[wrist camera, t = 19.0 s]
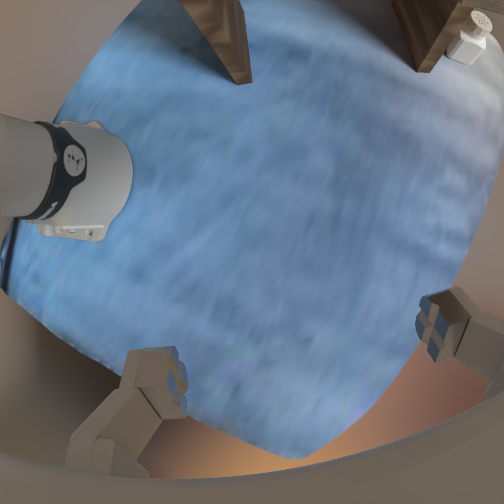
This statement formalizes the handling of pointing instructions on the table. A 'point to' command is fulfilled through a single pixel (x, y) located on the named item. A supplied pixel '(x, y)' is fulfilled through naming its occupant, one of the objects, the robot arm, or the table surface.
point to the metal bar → (485, 5)
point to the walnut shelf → (405, 3)
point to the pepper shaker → (470, 39)
